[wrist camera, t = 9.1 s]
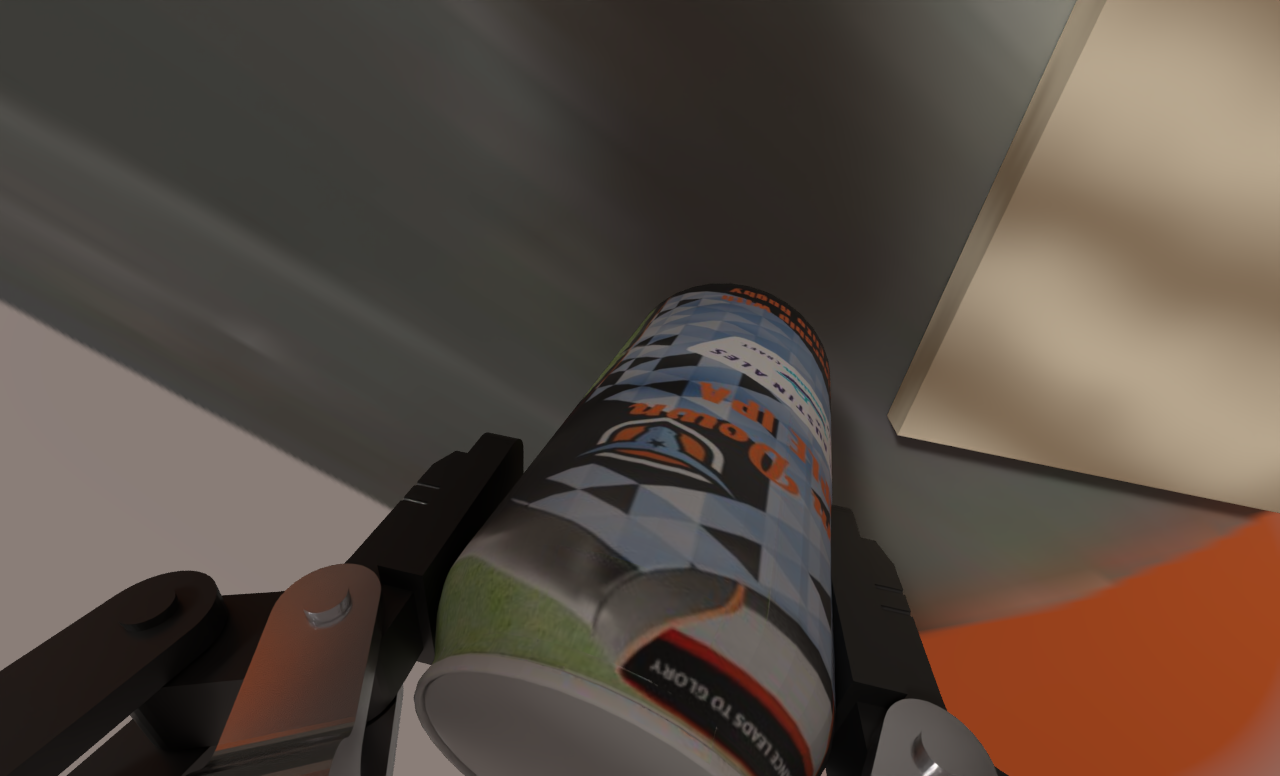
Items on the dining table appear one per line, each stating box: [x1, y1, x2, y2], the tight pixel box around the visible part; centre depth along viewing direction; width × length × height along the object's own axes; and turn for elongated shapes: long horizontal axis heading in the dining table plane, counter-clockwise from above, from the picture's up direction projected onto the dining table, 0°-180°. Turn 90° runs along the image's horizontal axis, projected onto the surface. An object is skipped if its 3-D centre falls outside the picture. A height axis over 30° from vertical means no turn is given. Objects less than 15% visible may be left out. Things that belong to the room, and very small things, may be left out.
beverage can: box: [414, 284, 836, 776], centre depth 11 cm, size 6×7×12 cm
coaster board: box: [887, 0, 1280, 513], centre depth 15 cm, size 16×16×2 cm
